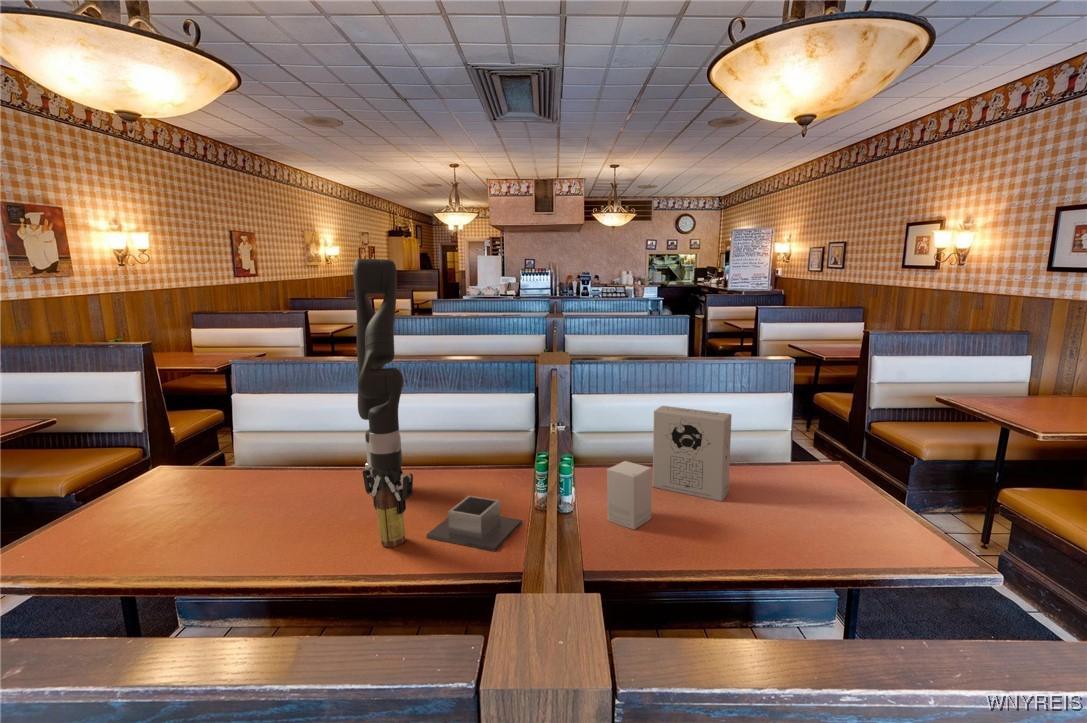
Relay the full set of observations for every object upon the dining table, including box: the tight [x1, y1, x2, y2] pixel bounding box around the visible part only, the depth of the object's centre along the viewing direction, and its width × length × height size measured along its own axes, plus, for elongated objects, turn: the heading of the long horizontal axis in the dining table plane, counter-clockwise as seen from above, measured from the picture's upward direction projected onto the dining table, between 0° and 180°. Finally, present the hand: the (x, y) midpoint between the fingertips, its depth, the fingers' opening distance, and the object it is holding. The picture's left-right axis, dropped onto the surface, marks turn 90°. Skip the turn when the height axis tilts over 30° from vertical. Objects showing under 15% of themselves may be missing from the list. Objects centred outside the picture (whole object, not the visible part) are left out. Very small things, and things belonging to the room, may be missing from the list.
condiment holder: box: [426, 495, 523, 552], centre depth 142 cm, size 20×16×7 cm
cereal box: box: [652, 405, 732, 502], centre depth 164 cm, size 22×8×25 cm, turn 58°
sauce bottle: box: [376, 470, 406, 548], centre depth 135 cm, size 7×6×20 cm
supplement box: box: [606, 460, 653, 531], centre depth 146 cm, size 9×9×15 cm
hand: (390, 510), depth 135 cm, fingers closed on sauce bottle, 6 cm apart
